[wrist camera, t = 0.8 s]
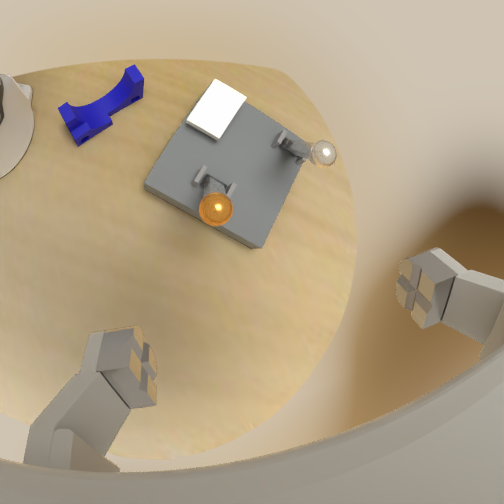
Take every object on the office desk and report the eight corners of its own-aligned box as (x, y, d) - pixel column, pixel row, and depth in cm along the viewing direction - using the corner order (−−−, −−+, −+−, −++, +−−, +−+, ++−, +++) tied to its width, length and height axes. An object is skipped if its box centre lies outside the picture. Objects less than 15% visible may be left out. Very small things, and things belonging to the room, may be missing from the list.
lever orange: (198, 187, 38) (191, 219, 25) (210, 167, 38) (210, 189, 24) (217, 198, 39) (222, 237, 26) (229, 179, 39) (241, 207, 25)
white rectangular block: (185, 122, 37) (186, 119, 35) (213, 83, 37) (215, 78, 35) (217, 140, 38) (219, 138, 37) (243, 100, 38) (246, 97, 36)
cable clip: (78, 146, 36) (70, 132, 30) (66, 124, 35) (57, 108, 29) (147, 105, 39) (149, 85, 34) (133, 85, 38) (134, 64, 33)
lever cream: (276, 149, 42) (308, 158, 29) (287, 133, 42) (324, 135, 28) (292, 160, 43) (330, 175, 30) (303, 144, 43) (346, 152, 29)
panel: (143, 188, 39) (144, 178, 34) (205, 94, 42) (215, 74, 36) (251, 248, 45) (268, 248, 39) (298, 152, 48) (318, 141, 42)
